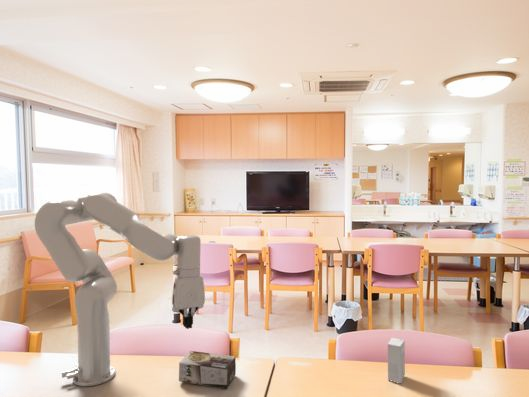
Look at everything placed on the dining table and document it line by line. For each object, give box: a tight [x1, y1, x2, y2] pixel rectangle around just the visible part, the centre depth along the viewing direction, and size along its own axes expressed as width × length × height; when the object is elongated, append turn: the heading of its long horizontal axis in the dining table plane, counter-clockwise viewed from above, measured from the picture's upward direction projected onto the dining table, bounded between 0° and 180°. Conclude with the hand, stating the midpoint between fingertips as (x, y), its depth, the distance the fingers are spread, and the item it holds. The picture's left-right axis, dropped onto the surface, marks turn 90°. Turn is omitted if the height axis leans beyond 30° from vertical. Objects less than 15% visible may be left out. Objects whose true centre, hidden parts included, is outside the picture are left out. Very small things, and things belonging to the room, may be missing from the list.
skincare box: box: [387, 337, 406, 384], centre depth 119 cm, size 6×4×12 cm
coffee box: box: [178, 350, 237, 390], centre depth 119 cm, size 9×6×16 cm
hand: (187, 327), depth 124 cm, fingers closed
